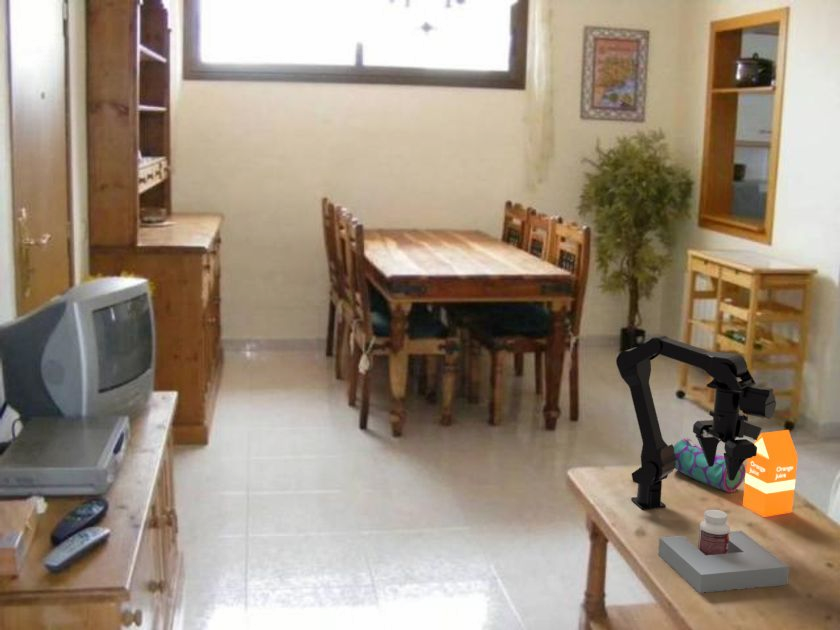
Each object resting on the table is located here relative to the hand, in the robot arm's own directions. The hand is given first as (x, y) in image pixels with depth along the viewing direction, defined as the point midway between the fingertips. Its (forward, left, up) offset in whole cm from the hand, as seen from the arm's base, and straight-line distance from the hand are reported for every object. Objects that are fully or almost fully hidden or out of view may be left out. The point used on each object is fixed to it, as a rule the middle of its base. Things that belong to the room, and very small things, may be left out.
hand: (720, 473), depth 230 cm
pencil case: (-27, +12, -13) cm, 33 cm away
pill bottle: (+17, -11, -13) cm, 24 cm away
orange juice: (-7, +18, -13) cm, 23 cm away
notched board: (+21, -11, -13) cm, 27 cm away
